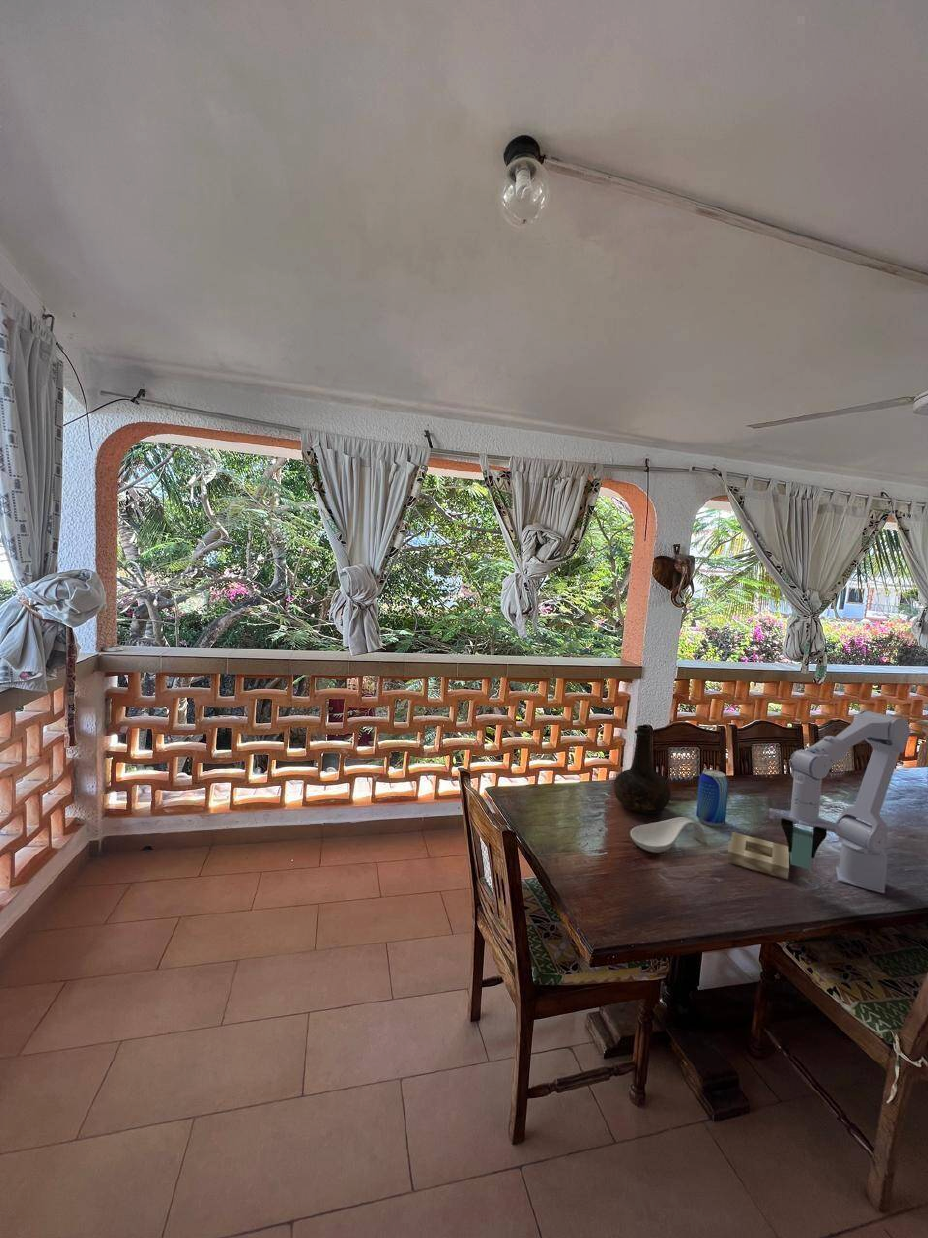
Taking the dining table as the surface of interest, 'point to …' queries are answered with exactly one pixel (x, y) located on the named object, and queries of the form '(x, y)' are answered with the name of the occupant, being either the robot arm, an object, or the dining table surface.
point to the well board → (759, 855)
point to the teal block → (801, 848)
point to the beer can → (712, 798)
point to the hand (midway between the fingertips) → (800, 853)
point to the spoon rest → (664, 834)
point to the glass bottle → (642, 780)
